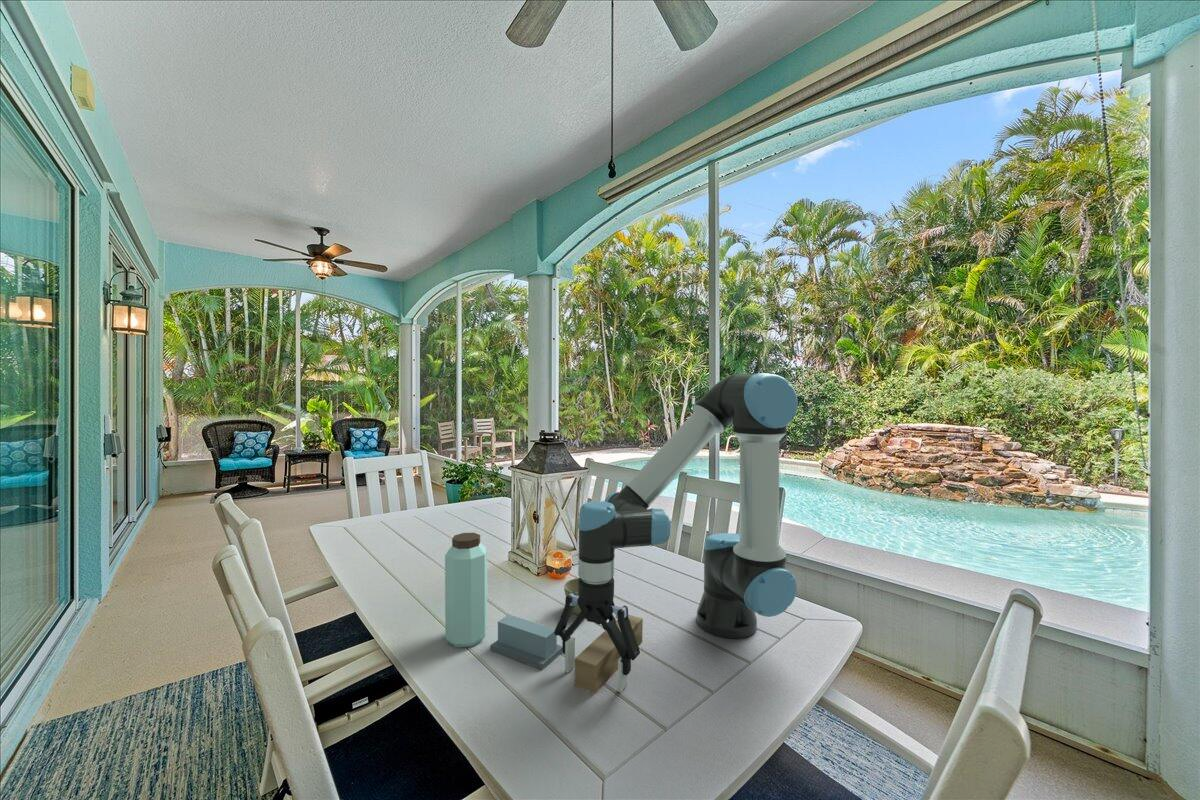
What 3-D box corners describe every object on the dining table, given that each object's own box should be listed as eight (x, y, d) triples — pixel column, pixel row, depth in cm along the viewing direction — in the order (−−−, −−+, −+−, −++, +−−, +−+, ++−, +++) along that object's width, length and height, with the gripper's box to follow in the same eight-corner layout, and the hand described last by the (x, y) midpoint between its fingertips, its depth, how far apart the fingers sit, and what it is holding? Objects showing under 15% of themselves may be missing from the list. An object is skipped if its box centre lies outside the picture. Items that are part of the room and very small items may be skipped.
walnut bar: (623, 637, 117) (624, 613, 116) (642, 643, 114) (642, 618, 114) (574, 686, 98) (575, 658, 97) (595, 694, 95) (595, 665, 95)
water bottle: (449, 654, 108) (448, 546, 107) (441, 633, 117) (441, 533, 116) (492, 643, 113) (492, 539, 112) (482, 624, 122) (482, 528, 121)
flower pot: (596, 621, 123) (596, 594, 123) (559, 617, 125) (559, 591, 125) (603, 604, 133) (603, 579, 133) (569, 600, 135) (569, 576, 135)
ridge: (563, 651, 110) (563, 626, 109) (542, 669, 103) (542, 642, 102) (512, 634, 117) (512, 610, 117) (490, 650, 110) (490, 624, 110)
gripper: (657, 583, 96) (655, 686, 97) (558, 560, 108) (557, 652, 109) (642, 597, 90) (640, 708, 90) (538, 571, 101) (538, 670, 102)
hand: (595, 678), depth 100 cm, fingers open, 12 cm apart
